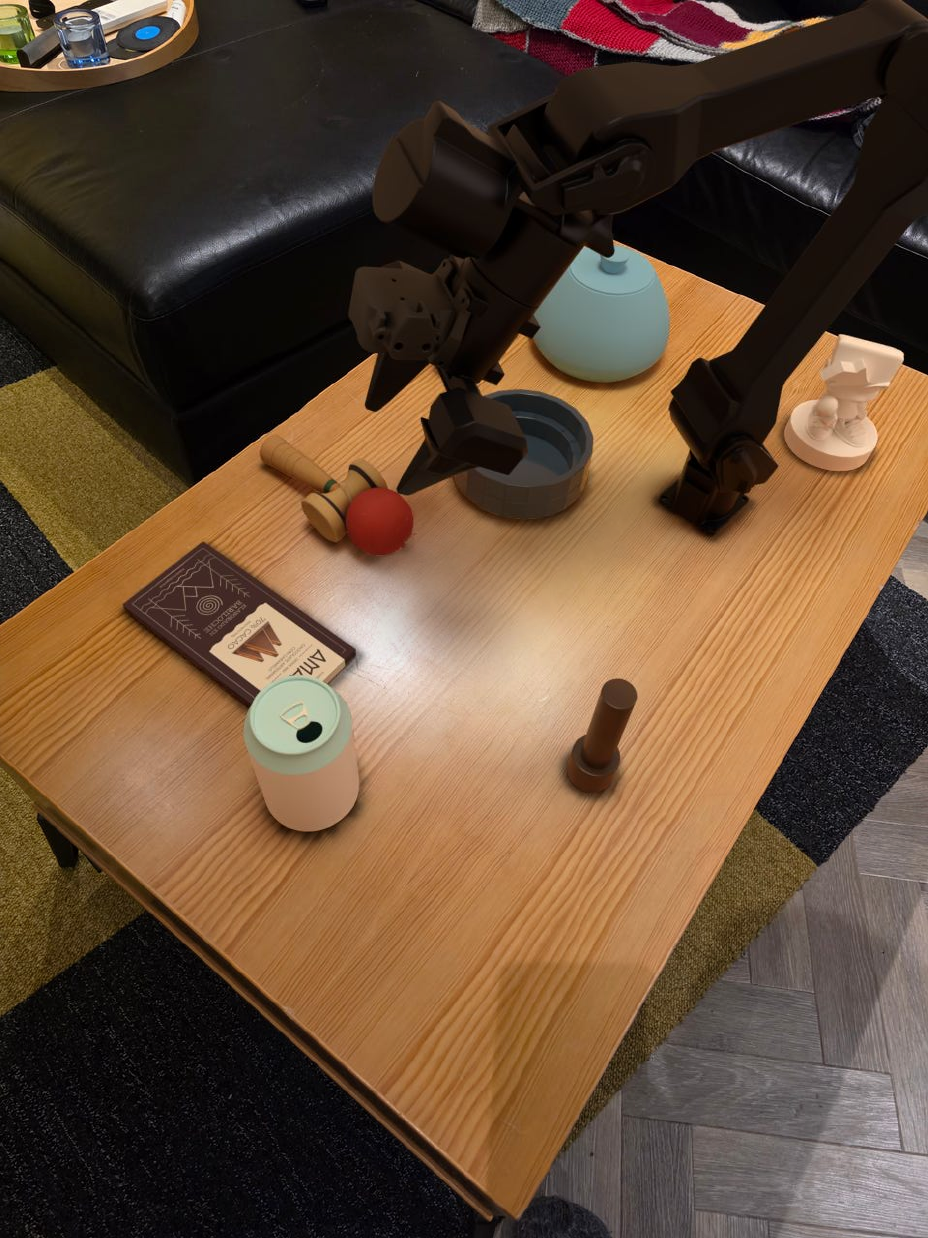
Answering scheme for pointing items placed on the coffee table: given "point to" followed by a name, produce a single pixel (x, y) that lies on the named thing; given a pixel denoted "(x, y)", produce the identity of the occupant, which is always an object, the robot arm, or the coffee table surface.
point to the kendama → (346, 500)
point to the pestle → (602, 738)
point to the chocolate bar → (235, 625)
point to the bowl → (536, 460)
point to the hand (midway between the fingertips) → (385, 449)
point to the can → (303, 752)
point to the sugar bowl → (604, 317)
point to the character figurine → (843, 406)
